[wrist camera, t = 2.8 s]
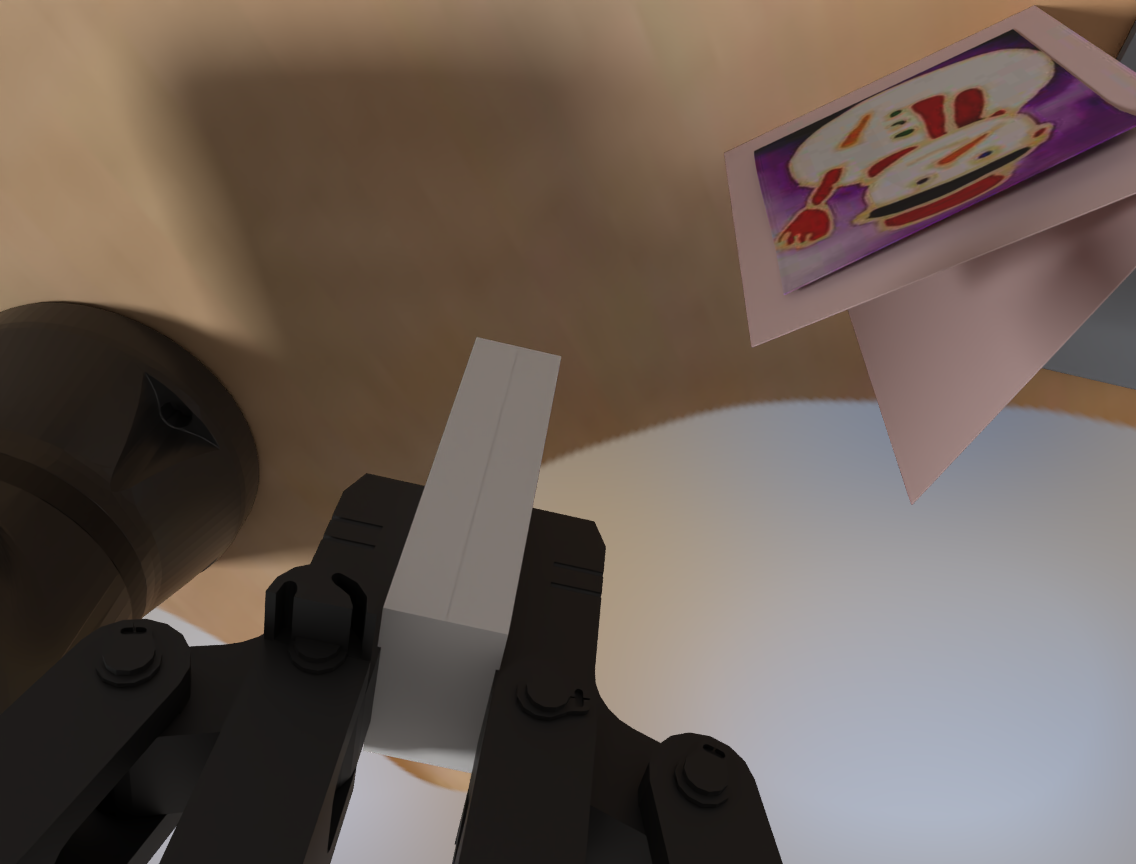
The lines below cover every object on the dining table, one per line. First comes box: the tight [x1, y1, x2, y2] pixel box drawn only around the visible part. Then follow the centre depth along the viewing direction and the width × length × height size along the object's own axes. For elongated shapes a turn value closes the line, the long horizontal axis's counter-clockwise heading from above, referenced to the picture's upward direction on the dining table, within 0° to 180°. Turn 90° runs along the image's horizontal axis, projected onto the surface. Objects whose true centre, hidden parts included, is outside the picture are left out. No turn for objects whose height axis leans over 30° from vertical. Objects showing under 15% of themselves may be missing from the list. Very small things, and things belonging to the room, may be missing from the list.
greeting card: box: [724, 5, 1136, 504], centre depth 31 cm, size 11×7×15 cm, turn 118°
